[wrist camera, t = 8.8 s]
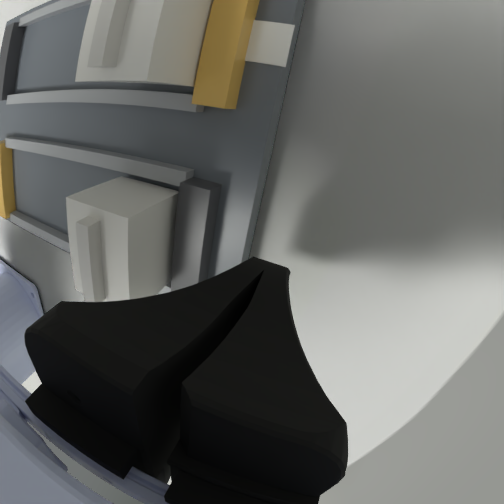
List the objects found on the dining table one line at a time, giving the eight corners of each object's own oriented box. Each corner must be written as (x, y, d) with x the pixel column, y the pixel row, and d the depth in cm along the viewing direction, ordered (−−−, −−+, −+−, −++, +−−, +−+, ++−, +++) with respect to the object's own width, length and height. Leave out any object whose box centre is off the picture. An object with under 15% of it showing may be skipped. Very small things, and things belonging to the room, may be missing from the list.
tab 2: (173, 278, 13) (121, 328, 10) (120, 257, 14) (65, 297, 10) (180, 191, 11) (115, 225, 8) (121, 176, 12) (53, 202, 8)
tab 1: (201, 87, 9) (132, 80, 6) (135, 83, 10) (60, 82, 7) (224, -11, 7) (166, -54, 4) (154, -7, 8) (88, -32, 5)
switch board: (239, 308, 15) (222, 337, 13) (9, 209, 18) (-11, 219, 16) (312, -21, 8) (303, -47, 6) (19, 22, 11) (-4, 22, 9)
